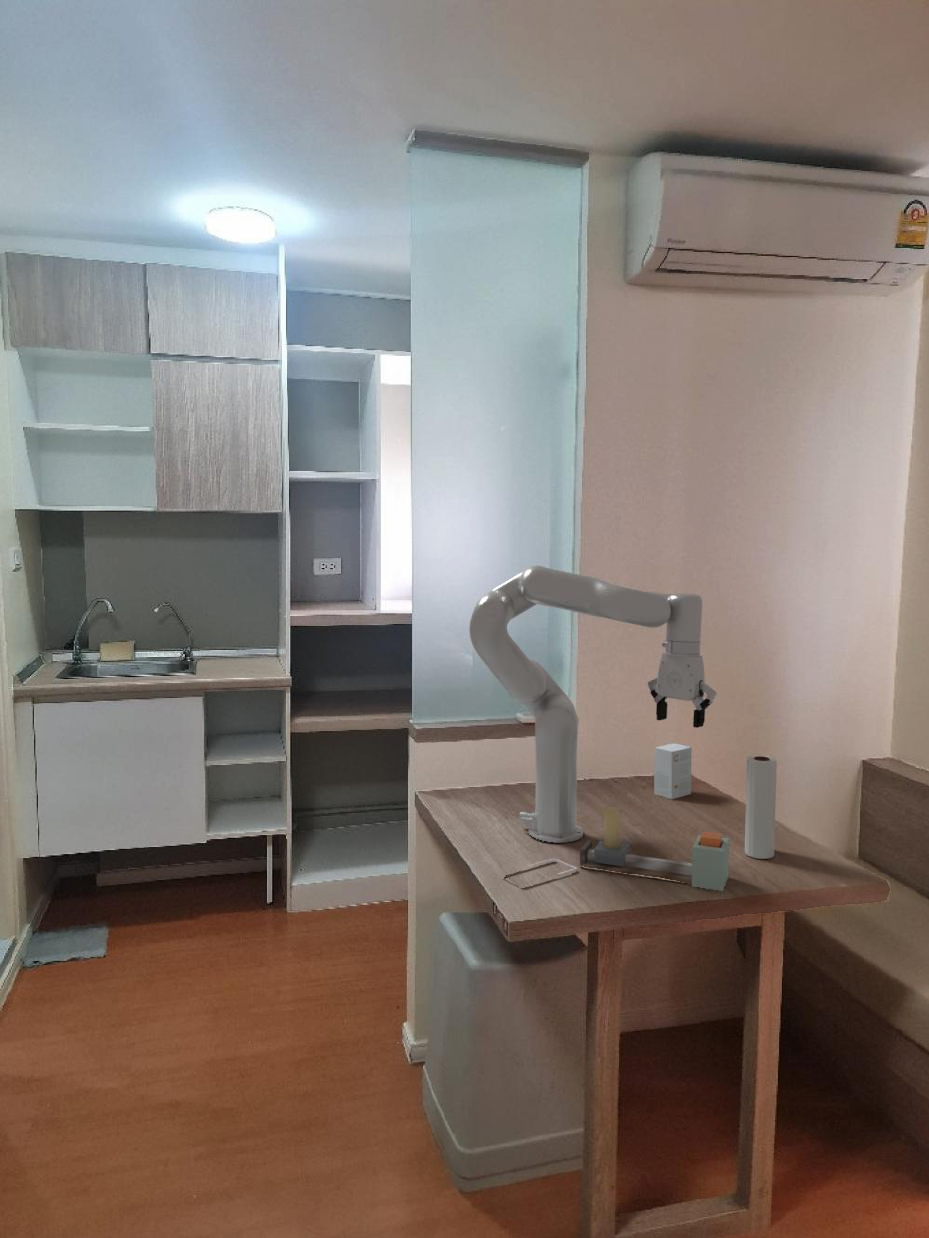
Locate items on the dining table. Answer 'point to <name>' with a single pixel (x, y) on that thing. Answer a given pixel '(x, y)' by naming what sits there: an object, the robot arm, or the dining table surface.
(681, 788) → the small box
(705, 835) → the button
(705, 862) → the green button housing
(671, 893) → the dining table surface
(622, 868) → the rail base
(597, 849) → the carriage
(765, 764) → the paper towel roll
